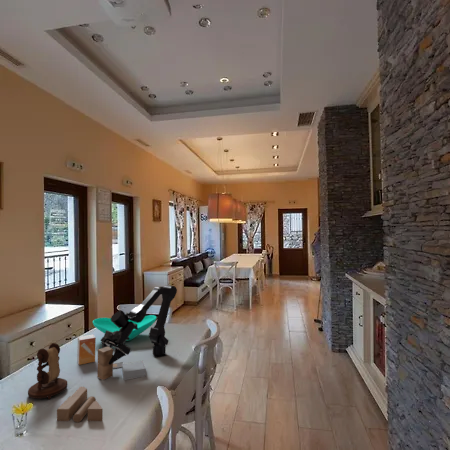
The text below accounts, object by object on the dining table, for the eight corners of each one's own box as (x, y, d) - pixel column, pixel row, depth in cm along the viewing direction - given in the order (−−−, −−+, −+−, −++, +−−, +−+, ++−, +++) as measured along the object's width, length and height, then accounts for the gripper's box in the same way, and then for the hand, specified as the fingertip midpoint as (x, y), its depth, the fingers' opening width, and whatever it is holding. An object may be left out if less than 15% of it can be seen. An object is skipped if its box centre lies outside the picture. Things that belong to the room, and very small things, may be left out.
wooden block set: (55, 408, 110) (79, 383, 128) (54, 423, 110) (79, 396, 128) (101, 408, 110) (119, 383, 128) (101, 423, 109) (119, 397, 127)
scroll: (50, 403, 122) (51, 353, 122) (18, 399, 124) (19, 351, 125) (74, 385, 136) (75, 340, 137) (46, 382, 139) (47, 338, 139)
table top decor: (157, 330, 212) (157, 311, 213) (156, 345, 185) (156, 323, 186) (97, 334, 204) (97, 314, 205) (87, 349, 177) (87, 327, 178)
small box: (78, 365, 156) (79, 340, 157) (77, 361, 162) (77, 336, 162) (95, 361, 161) (95, 337, 161) (93, 357, 166) (93, 334, 167)
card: (122, 362, 160) (122, 361, 160) (123, 367, 154) (123, 366, 154) (106, 365, 157) (106, 364, 157) (106, 369, 151) (106, 369, 151)
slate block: (142, 368, 154) (142, 360, 154) (145, 376, 145) (145, 368, 145) (122, 371, 150) (122, 363, 150) (123, 380, 141) (123, 372, 141)
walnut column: (107, 373, 148) (107, 346, 148) (112, 376, 145) (113, 348, 145) (97, 376, 144) (97, 349, 144) (102, 380, 141) (103, 352, 141)
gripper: (104, 320, 155) (82, 348, 146) (125, 327, 143) (103, 358, 134) (117, 332, 161) (97, 359, 152) (139, 339, 149) (118, 370, 140)
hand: (103, 361), depth 144 cm, fingers open, 9 cm apart
